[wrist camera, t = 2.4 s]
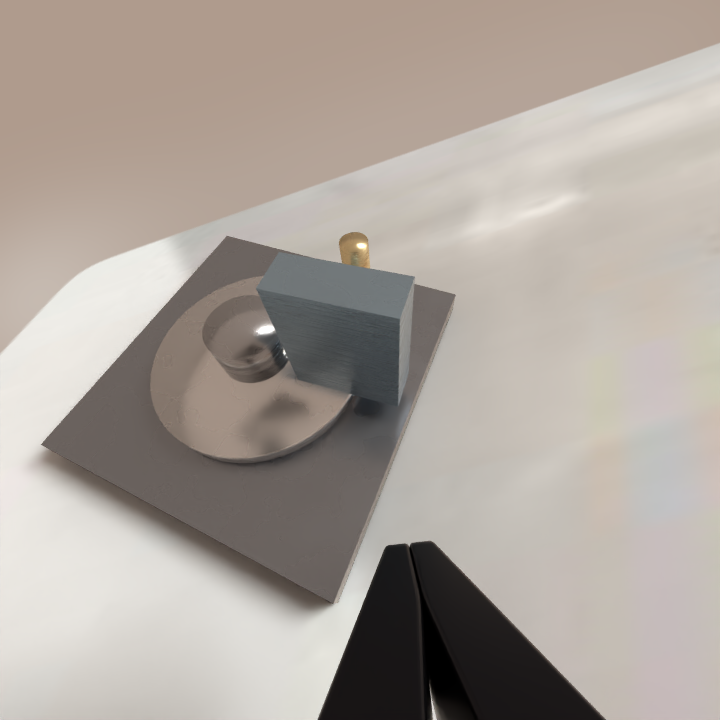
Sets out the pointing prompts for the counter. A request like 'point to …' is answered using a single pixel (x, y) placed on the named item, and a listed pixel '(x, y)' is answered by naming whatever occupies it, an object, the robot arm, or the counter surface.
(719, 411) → the counter surface
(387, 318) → the flange
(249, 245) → the locating plate
